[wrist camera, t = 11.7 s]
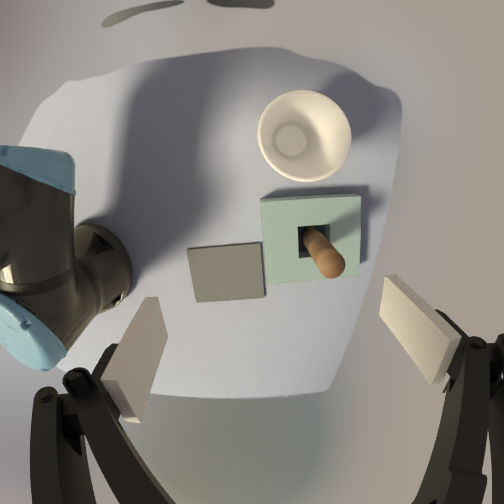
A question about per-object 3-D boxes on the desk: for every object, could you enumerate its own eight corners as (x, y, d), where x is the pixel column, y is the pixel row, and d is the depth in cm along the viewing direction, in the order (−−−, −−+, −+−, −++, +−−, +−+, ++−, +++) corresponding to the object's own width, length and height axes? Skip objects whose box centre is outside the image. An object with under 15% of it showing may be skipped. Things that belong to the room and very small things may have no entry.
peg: (300, 245, 41) (319, 279, 30) (300, 226, 40) (319, 254, 29) (320, 244, 41) (344, 277, 30) (320, 225, 40) (346, 252, 29)
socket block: (266, 276, 43) (267, 284, 40) (259, 198, 39) (260, 202, 36) (352, 268, 42) (358, 275, 40) (353, 193, 38) (360, 196, 36)
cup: (337, 151, 36) (368, 151, 26) (282, 188, 38) (294, 200, 28) (298, 95, 34) (316, 73, 23) (241, 132, 36) (237, 121, 25)
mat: (196, 301, 44) (196, 302, 44) (187, 249, 41) (186, 250, 41) (264, 296, 44) (264, 297, 44) (260, 242, 41) (260, 243, 41)
